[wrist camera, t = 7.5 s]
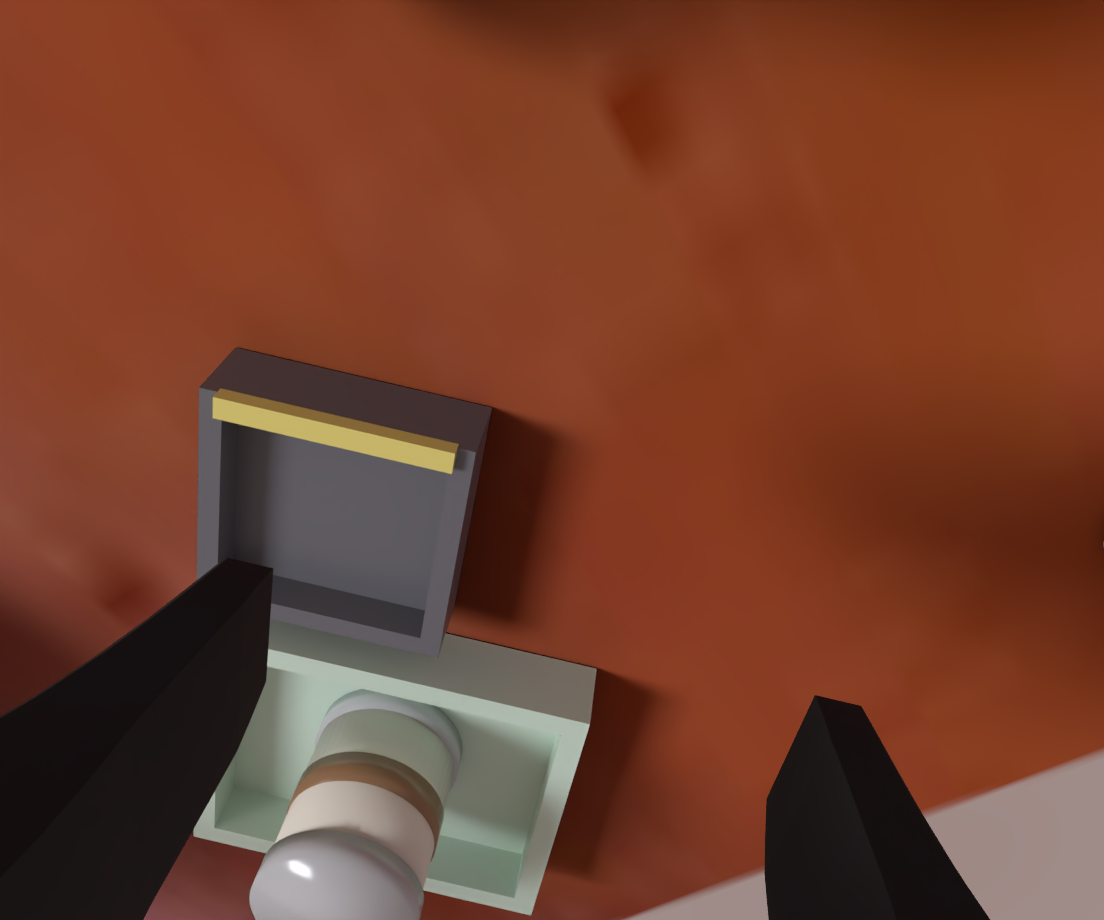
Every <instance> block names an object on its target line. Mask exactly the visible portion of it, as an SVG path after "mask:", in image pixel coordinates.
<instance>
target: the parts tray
mask: <svg viewBox="0 0 1104 920" xmlns="http://www.w3.org/2000/svg"><path fill="white" fill-rule="evenodd" d="M596 671H597V669H596V668H592V667H588V666H583V665H579V664H575V663H570V662H566V661H562V660H558V659H553V658H549V657H545V656H541V655H536V654H532V653H528V652H524V651H519V650H515V649H511V648H506V647H502V646H498V645H494V644H489V643H485V642H481V641H477V640H472V639H468V638H464V637H459V636H455V635H451V634H447V633H446V634H445V637H444V640H443V644H442V647H441V650H440V653H439V656H438V658H435V657H431V656H427V655H422V654H418V653H414V652H409V651H405V650H401V649H397V648H392V647H388V646H384V645H380V644H375V643H371V642H367V641H362V640H358V639H354V638H350V637H345V636H341V635H337V634H333V633H328V632H324V631H320V630H316V629H311V628H307V627H303V626H298V625H294V624H290V623H286V622H281V621H277V620H273V619H270V629H269V645H268V661H267V676H266V683H265V686H264V688H263V691H262V693H261V695H260V698H259V700H258V703H257V705H256V708H255V710H254V713H253V715H252V718H251V720H250V722H249V725H248V727H247V729H246V732H245V734H244V736H243V739H242V741H241V743H240V746H239V748H238V751H237V752H236V754H235V756H234V758H233V760H232V761H231V763H230V765H229V767H228V769H227V771H226V772H225V774H224V776H223V778H222V779H221V781H220V783H219V785H218V787H217V788H216V790H215V792H214V794H213V796H212V797H211V799H210V801H209V803H208V804H207V806H206V808H205V810H204V811H203V813H202V815H201V817H200V819H199V820H198V822H197V824H196V826H195V827H194V837H198V838H202V839H207V840H211V841H215V842H219V843H224V844H228V845H232V846H237V847H241V848H245V849H249V850H254V851H258V852H262V853H267V852H268V850H269V849H270V848H271V847H272V846H273V845H274V844H275V841H276V839H277V837H278V834H279V832H280V830H281V827H282V825H283V823H284V820H285V818H286V812H287V809H288V806H289V803H290V801H291V799H292V796H293V794H294V791H295V789H296V787H297V784H298V782H299V780H300V777H301V776H302V774H303V772H304V771H305V770H306V768H307V766H308V763H309V761H310V759H311V756H312V754H313V752H314V749H315V739H316V736H317V733H318V730H319V728H320V726H321V723H322V721H323V719H324V716H325V714H326V712H327V710H328V709H329V707H330V706H331V705H332V704H333V703H334V702H335V701H336V700H337V699H339V698H340V697H342V696H344V695H345V694H347V693H350V692H352V691H356V690H359V689H366V690H370V691H374V692H378V693H383V694H387V695H391V696H396V697H400V698H404V699H408V700H413V701H417V702H421V703H425V704H430V705H434V706H437V707H438V708H439V709H441V710H442V711H443V712H444V713H445V714H446V715H447V716H448V717H449V718H450V719H451V721H452V722H453V723H454V725H455V726H456V728H457V730H458V732H459V734H460V737H461V741H462V747H463V751H462V758H461V762H460V766H459V770H458V773H457V777H456V781H455V783H454V785H453V787H452V788H451V790H450V791H449V793H448V797H447V801H446V805H445V809H444V818H443V824H442V827H441V831H440V835H439V839H438V843H437V847H436V850H435V854H434V857H433V859H432V861H431V862H430V866H429V869H428V873H427V877H426V881H425V885H424V888H423V890H424V891H429V892H433V893H437V894H441V895H446V896H450V897H454V898H458V899H463V900H467V901H471V902H475V903H480V904H484V905H488V906H493V907H497V908H501V909H505V910H510V911H514V912H518V913H522V914H527V915H531V914H532V911H533V907H534V904H535V901H536V898H537V894H538V891H539V888H540V885H541V881H542V878H543V875H544V872H545V869H546V865H547V862H548V859H549V856H550V852H551V849H552V846H553V843H554V839H555V836H556V833H557V830H558V826H559V823H560V820H561V817H562V813H563V810H564V807H565V804H566V800H567V797H568V794H569V791H570V787H571V784H572V781H573V778H574V775H575V771H576V768H577V765H578V762H579V758H580V755H581V752H582V749H583V745H584V742H585V739H586V736H587V732H588V729H589V726H590V720H591V712H592V704H593V696H594V687H595V679H596Z"/></svg>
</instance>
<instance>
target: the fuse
mask: <svg viewBox="0 0 1104 920" xmlns="http://www.w3.org/2000/svg"><path fill="white" fill-rule="evenodd" d="M462 751H463V747H462V741H461V737H460V734H459V732H458V730H457V728H456V726H455V725H454V723H453V722H452V721H451V719H450V718H449V717H448V716H447V715H446V714H445V713H444V712H443V711H442V710H441V709H439V708H438V707H437V706H434V705H430V704H425V703H421V702H417V701H413V700H408V699H404V698H400V697H396V696H391V695H387V694H383V693H378V692H374V691H370V690H366V689H359V690H356V691H352V692H350V693H347V694H345V695H344V696H342V697H340V698H339V699H337V700H336V701H335V702H334V703H333V704H332V705H331V706H330V707H329V709H328V710H327V712H326V714H325V716H324V719H323V721H322V723H321V726H320V728H319V730H318V733H317V736H316V739H315V749H314V752H313V754H312V756H311V759H310V761H309V763H308V766H307V768H306V770H305V771H304V772H303V774H302V776H301V777H300V780H299V782H298V784H297V787H296V789H295V791H294V794H293V796H292V799H291V801H290V803H289V806H288V809H287V812H286V818H285V820H284V823H283V825H282V827H281V830H280V832H279V834H278V837H277V839H276V841H275V844H274V845H273V846H272V847H271V848H270V849H269V850H268V852H267V853H266V855H265V857H264V859H263V861H262V864H261V866H260V868H259V871H258V873H257V875H256V878H255V880H254V882H253V885H252V887H251V890H250V897H249V899H250V906H251V910H252V913H253V915H254V917H255V919H256V920H420V916H421V912H422V909H423V905H424V893H423V888H424V885H425V881H426V877H427V873H428V869H429V866H430V862H431V861H432V859H433V857H434V854H435V850H436V847H437V843H438V839H439V835H440V831H441V827H442V824H443V818H444V809H445V805H446V801H447V797H448V793H449V791H450V790H451V788H452V787H453V785H454V783H455V781H456V777H457V773H458V770H459V766H460V762H461V758H462Z"/></svg>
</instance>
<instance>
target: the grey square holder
mask: <svg viewBox="0 0 1104 920" xmlns="http://www.w3.org/2000/svg"><path fill="white" fill-rule="evenodd" d="M491 411H492V408H491V407H487V406H483V405H479V404H474V403H470V402H466V401H462V400H457V399H453V398H449V397H445V396H440V395H436V394H432V393H427V392H423V391H419V390H415V389H410V388H406V387H402V386H398V385H393V384H389V383H385V382H380V381H376V380H372V379H368V378H363V377H359V376H355V375H351V374H346V373H342V372H338V371H333V370H329V369H325V368H321V367H316V366H312V365H308V364H304V363H299V362H295V361H291V360H286V359H282V358H278V357H274V356H269V355H265V354H261V353H257V352H252V351H248V350H244V349H240V348H235V349H234V350H233V351H232V352H231V353H230V354H229V355H228V356H227V358H226V359H225V360H224V361H223V362H222V363H221V364H220V365H219V366H218V367H217V369H216V370H215V371H214V372H213V373H212V374H211V375H210V376H209V377H208V378H207V380H206V381H205V382H204V383H203V384H202V385H201V386H200V387H199V445H198V525H197V580H198V579H199V578H200V577H202V576H203V575H204V574H205V573H207V572H208V571H209V570H210V569H212V568H213V567H214V566H215V565H217V564H218V563H219V562H221V561H223V560H225V559H226V558H231V559H236V560H240V561H244V562H248V563H253V564H257V565H261V566H265V567H270V568H273V582H272V598H271V614H270V619H273V620H277V621H281V622H286V623H290V624H294V625H298V626H303V627H307V628H311V629H316V630H320V631H324V632H328V633H333V634H337V635H341V636H345V637H350V638H354V639H358V640H362V641H367V642H371V643H375V644H380V645H384V646H388V647H392V648H397V649H401V650H405V651H409V652H414V653H418V654H422V655H427V656H431V657H435V658H438V656H439V653H440V650H441V647H442V644H443V640H444V637H445V634H446V631H447V628H448V625H449V621H450V618H451V615H452V612H453V609H454V606H455V601H456V595H457V590H458V585H459V580H460V574H461V569H462V564H463V558H464V553H465V548H466V543H467V537H468V532H469V527H470V522H471V516H472V511H473V506H474V501H475V495H476V490H477V485H478V480H479V474H480V469H481V464H482V459H483V453H484V448H485V443H486V438H487V432H488V427H489V422H490V416H491Z"/></svg>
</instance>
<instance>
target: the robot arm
mask: <svg viewBox="0 0 1104 920" xmlns="http://www.w3.org/2000/svg"><path fill="white" fill-rule="evenodd" d="M1103 546H1104V543H1103ZM272 582H273V568H270V567H265V566H261V565H257V564H253V563H248V562H244V561H240V560H236V559H231V558H226V559H225V560H223V561H221V562H219V563H218V564H217V565H215V566H214V567H213V568H212V569H210V570H209V571H208V572H207V573H205V574H204V575H203V576H202V577H200V578H199V579H198V580H197V581H195V582H194V583H193V584H192V585H190V586H189V587H188V588H187V589H185V590H184V591H183V592H182V593H180V594H179V595H178V596H176V597H175V598H174V599H173V600H171V601H170V602H169V603H167V604H166V605H165V606H163V607H162V608H161V609H160V610H158V611H157V612H156V613H154V614H153V615H152V616H150V617H149V618H148V619H146V620H145V621H144V622H142V623H141V624H140V625H138V626H137V627H135V628H134V629H133V630H131V631H130V632H129V633H127V634H126V635H124V636H123V637H122V638H120V639H119V640H117V641H116V642H115V643H113V644H112V645H111V646H109V647H108V648H106V649H105V650H104V651H102V652H101V653H99V654H98V655H97V656H95V657H94V658H92V659H91V660H89V661H88V662H86V663H85V664H83V665H82V666H80V667H79V668H77V669H75V670H74V671H72V672H71V673H69V674H68V675H66V676H65V677H63V678H62V679H60V680H59V681H57V682H56V683H54V684H52V685H51V686H49V687H48V688H46V689H45V690H43V691H42V692H40V693H39V694H37V695H35V696H34V697H32V698H31V699H29V700H27V701H26V702H24V703H22V704H21V705H19V706H17V707H16V708H14V709H12V710H11V711H9V712H7V713H6V714H4V715H2V716H0V920H143V919H144V917H145V915H146V913H147V911H148V909H149V907H150V905H151V903H152V902H153V900H154V898H155V896H156V894H157V893H158V891H159V889H160V887H161V886H162V884H163V882H164V880H165V878H166V877H167V875H168V873H169V871H170V870H171V868H172V866H173V864H174V863H175V861H176V859H177V857H178V856H179V854H180V852H181V850H182V848H183V847H184V845H185V843H186V841H187V840H188V838H189V836H190V834H191V833H192V831H193V829H194V827H195V826H196V824H197V822H198V820H199V819H200V817H201V815H202V813H203V811H204V810H205V808H206V806H207V804H208V803H209V801H210V799H211V797H212V796H213V794H214V792H215V790H216V788H217V787H218V785H219V783H220V781H221V779H222V778H223V776H224V774H225V772H226V771H227V769H228V767H229V765H230V763H231V761H232V760H233V758H234V756H235V754H236V752H237V751H238V748H239V746H240V743H241V741H242V739H243V736H244V734H245V732H246V729H247V727H248V725H249V722H250V720H251V718H252V715H253V713H254V710H255V708H256V705H257V703H258V700H259V698H260V695H261V693H262V691H263V688H264V686H265V683H266V676H267V661H268V645H269V629H270V614H271V598H272ZM765 883H766V895H767V906H768V916H769V920H990V919H989V918H988V916H987V914H986V913H985V911H984V910H983V909H982V907H981V906H980V904H979V903H978V901H977V900H976V898H975V897H974V895H973V894H972V892H971V891H970V889H969V888H968V887H967V885H966V884H965V882H964V881H963V879H962V878H961V876H960V874H959V873H958V871H957V870H956V868H955V867H954V865H953V864H952V862H951V860H950V859H949V857H948V855H947V854H946V852H945V850H944V849H943V847H942V846H941V844H940V842H939V841H938V839H937V837H936V836H935V834H934V833H933V831H932V829H931V828H930V826H929V824H928V823H927V821H926V819H925V818H924V816H923V814H922V813H921V811H920V809H919V807H918V806H917V804H916V802H915V801H914V799H913V797H912V795H911V794H910V792H909V790H908V788H907V787H906V785H905V783H904V781H903V779H902V778H901V776H900V774H899V772H898V771H897V769H896V767H895V765H894V764H893V762H892V760H891V758H890V756H889V755H888V753H887V751H886V749H885V747H884V746H883V744H882V742H881V740H880V738H879V737H878V735H877V733H876V731H875V730H874V728H873V726H872V724H871V722H870V721H869V719H868V717H867V716H866V714H865V712H864V710H863V709H862V707H861V706H859V705H854V704H850V703H846V702H842V701H837V700H833V699H829V698H825V697H820V696H816V695H815V696H814V699H813V701H812V703H811V705H810V707H809V709H808V711H807V714H806V716H805V718H804V720H803V722H802V724H801V726H800V729H799V731H798V733H797V735H796V737H795V739H794V741H793V744H792V746H791V748H790V750H789V752H788V754H787V756H786V759H785V761H784V763H783V765H782V767H781V769H780V771H779V774H778V776H777V778H776V780H775V782H774V784H773V786H772V789H771V791H770V793H769V795H768V797H767V805H766V832H765Z"/></svg>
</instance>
